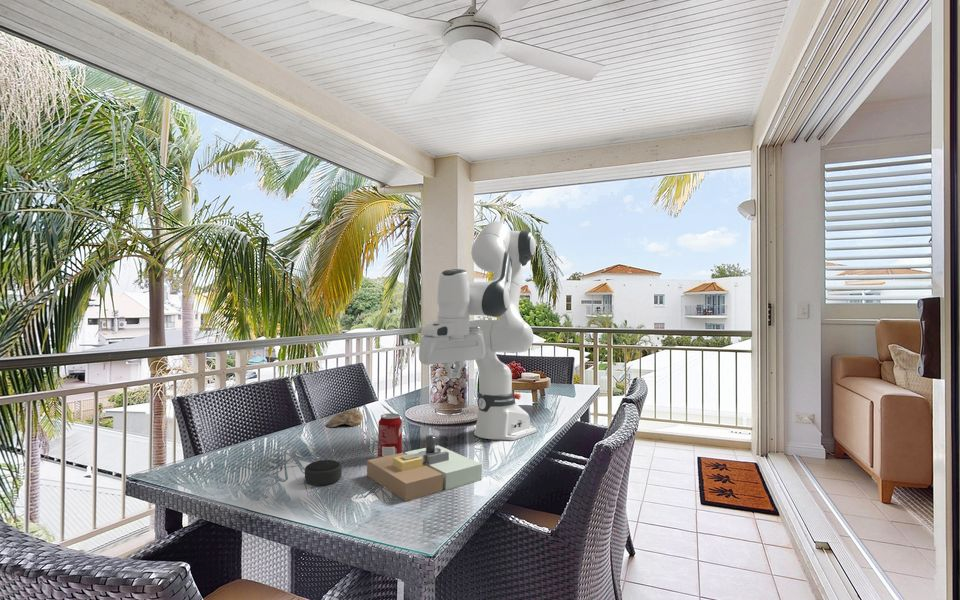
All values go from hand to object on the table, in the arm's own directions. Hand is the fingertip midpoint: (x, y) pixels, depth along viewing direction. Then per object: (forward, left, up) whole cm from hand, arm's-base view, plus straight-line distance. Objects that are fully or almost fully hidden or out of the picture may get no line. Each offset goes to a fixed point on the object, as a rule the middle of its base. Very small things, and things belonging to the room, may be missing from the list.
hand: (453, 378), depth 134 cm
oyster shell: (+6, -59, -25) cm, 64 cm away
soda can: (+10, -17, -24) cm, 31 cm away
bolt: (+12, +3, -20) cm, 24 cm away
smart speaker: (+32, -11, -25) cm, 42 cm away
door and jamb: (+12, +3, -24) cm, 27 cm away
